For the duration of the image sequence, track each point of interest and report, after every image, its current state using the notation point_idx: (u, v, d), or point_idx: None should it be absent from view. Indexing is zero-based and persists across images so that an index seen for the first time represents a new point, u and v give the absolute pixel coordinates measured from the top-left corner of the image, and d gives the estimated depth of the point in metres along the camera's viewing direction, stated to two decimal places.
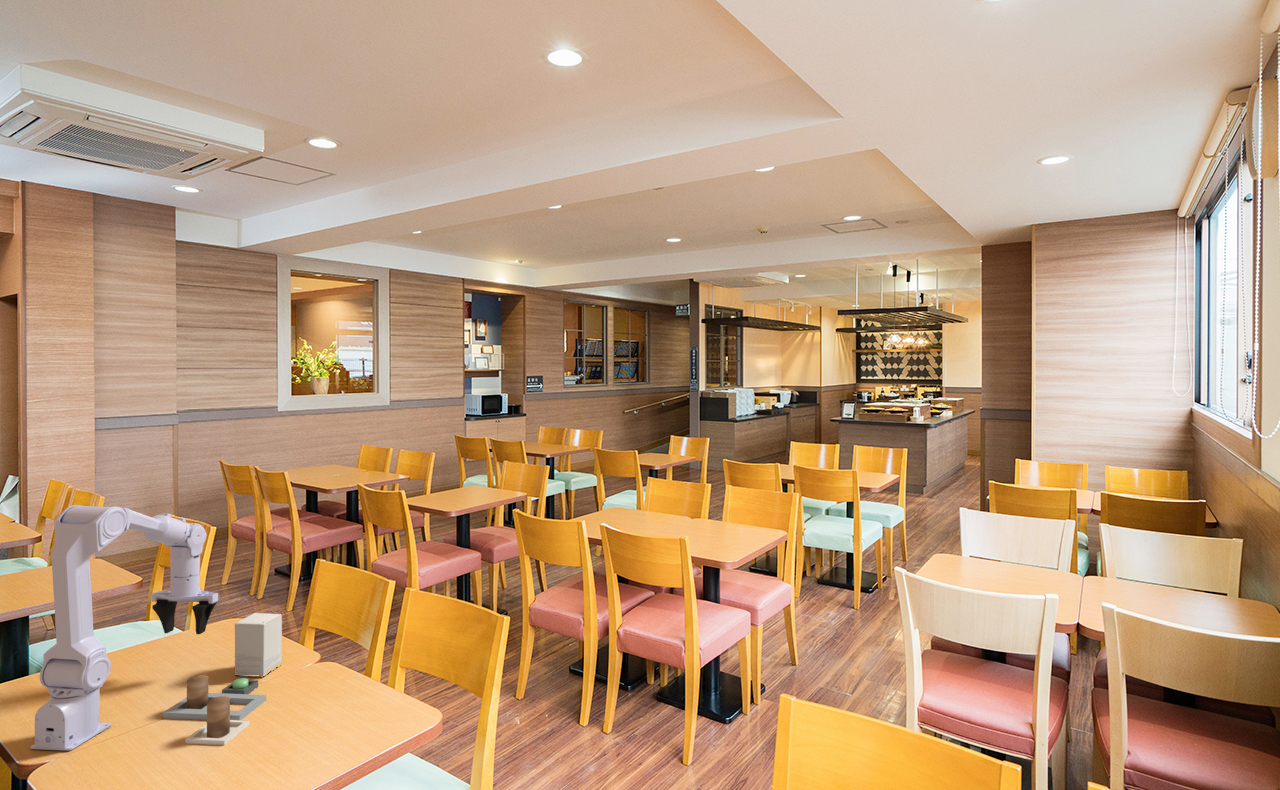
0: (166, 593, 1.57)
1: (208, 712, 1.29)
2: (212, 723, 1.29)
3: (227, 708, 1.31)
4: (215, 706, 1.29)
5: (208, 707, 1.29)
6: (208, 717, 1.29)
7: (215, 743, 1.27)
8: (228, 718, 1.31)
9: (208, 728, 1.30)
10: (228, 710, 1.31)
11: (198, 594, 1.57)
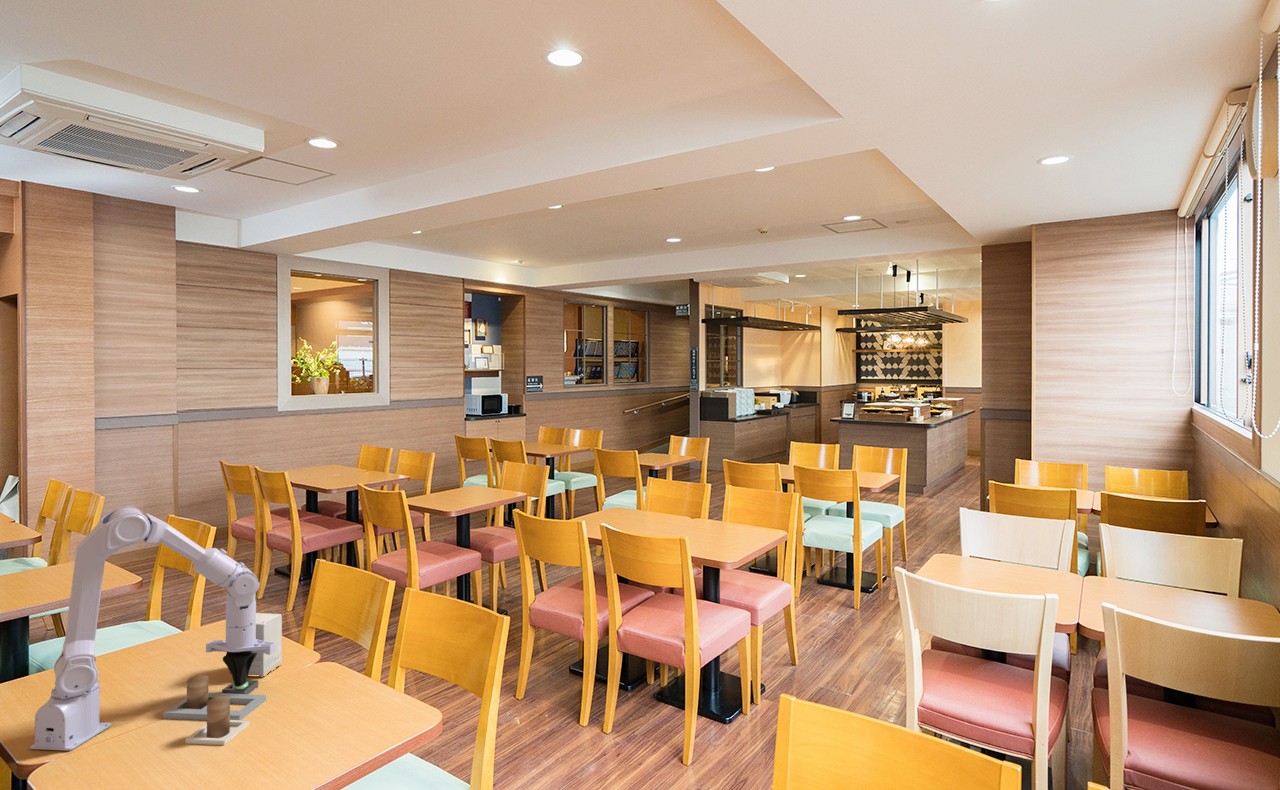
0: (221, 643, 1.49)
1: (208, 712, 1.29)
2: (212, 723, 1.29)
3: (227, 708, 1.31)
4: (215, 706, 1.29)
5: (208, 707, 1.29)
6: (208, 717, 1.29)
7: (215, 743, 1.27)
8: (228, 718, 1.31)
9: (208, 728, 1.30)
10: (228, 710, 1.31)
11: (254, 644, 1.49)
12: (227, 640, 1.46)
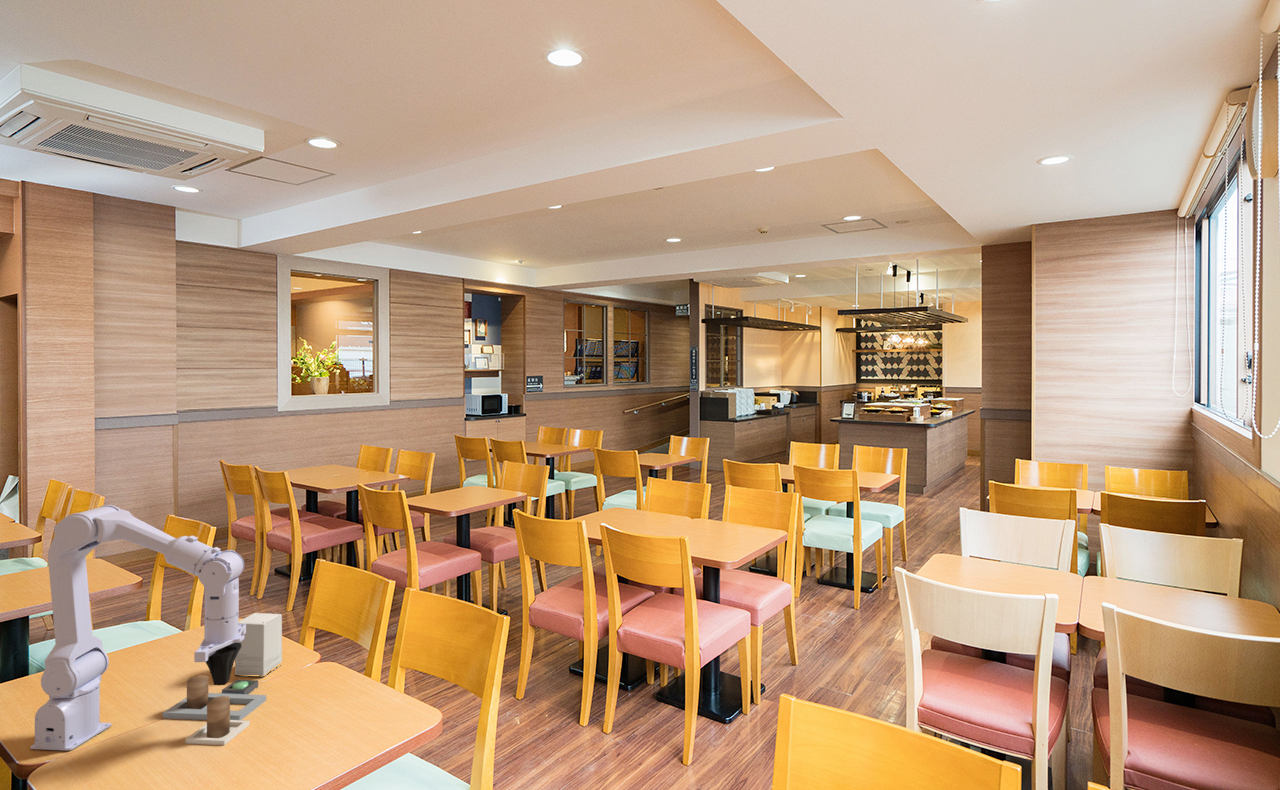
0: None
1: (208, 712, 1.29)
2: (212, 723, 1.29)
3: (227, 708, 1.31)
4: (215, 706, 1.29)
5: (208, 707, 1.29)
6: (208, 717, 1.29)
7: (215, 743, 1.27)
8: (228, 718, 1.31)
9: (208, 728, 1.30)
10: (228, 710, 1.31)
11: None
12: None
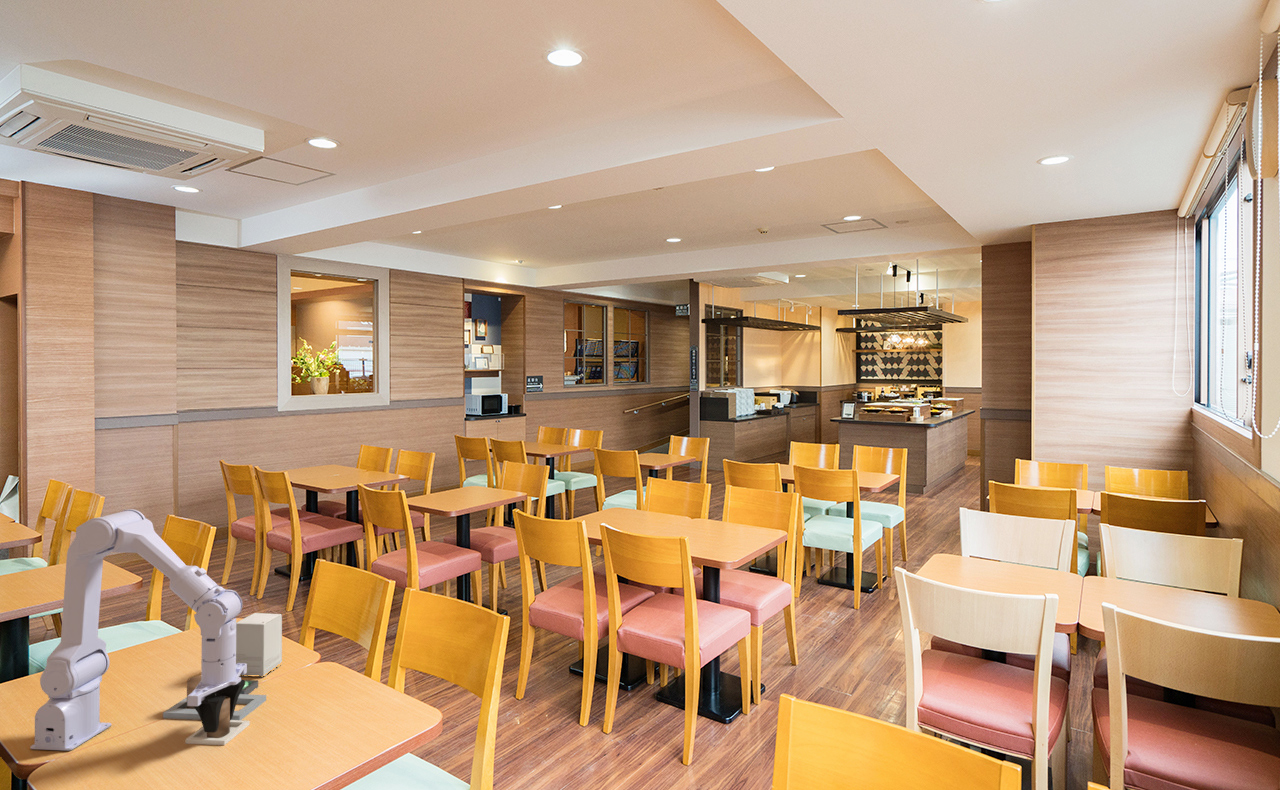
0: None
1: None
2: None
3: (227, 708, 1.31)
4: None
5: None
6: None
7: (215, 743, 1.27)
8: (228, 718, 1.31)
9: None
10: (228, 710, 1.31)
11: None
12: None
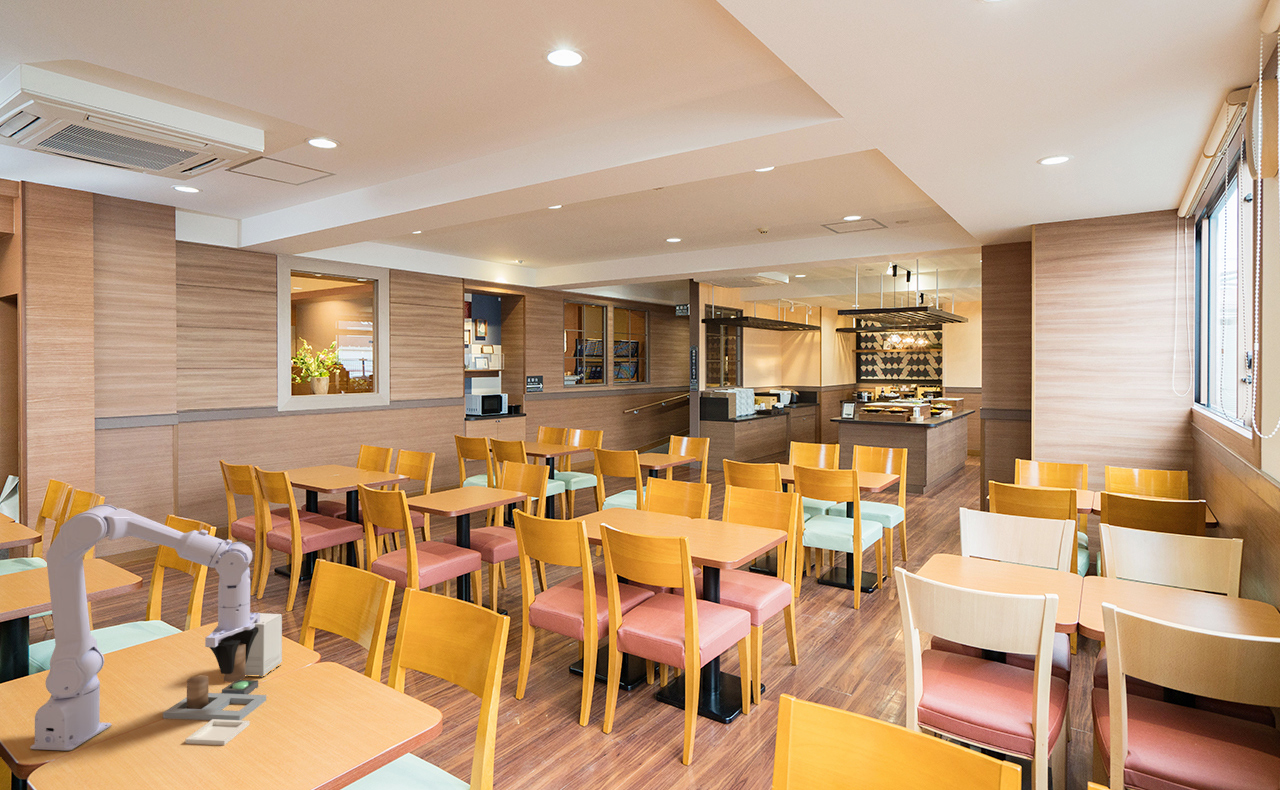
0: None
1: None
2: None
3: (243, 654, 1.39)
4: None
5: None
6: None
7: (215, 743, 1.27)
8: (243, 663, 1.40)
9: None
10: (244, 656, 1.40)
11: (222, 631, 1.36)
12: None
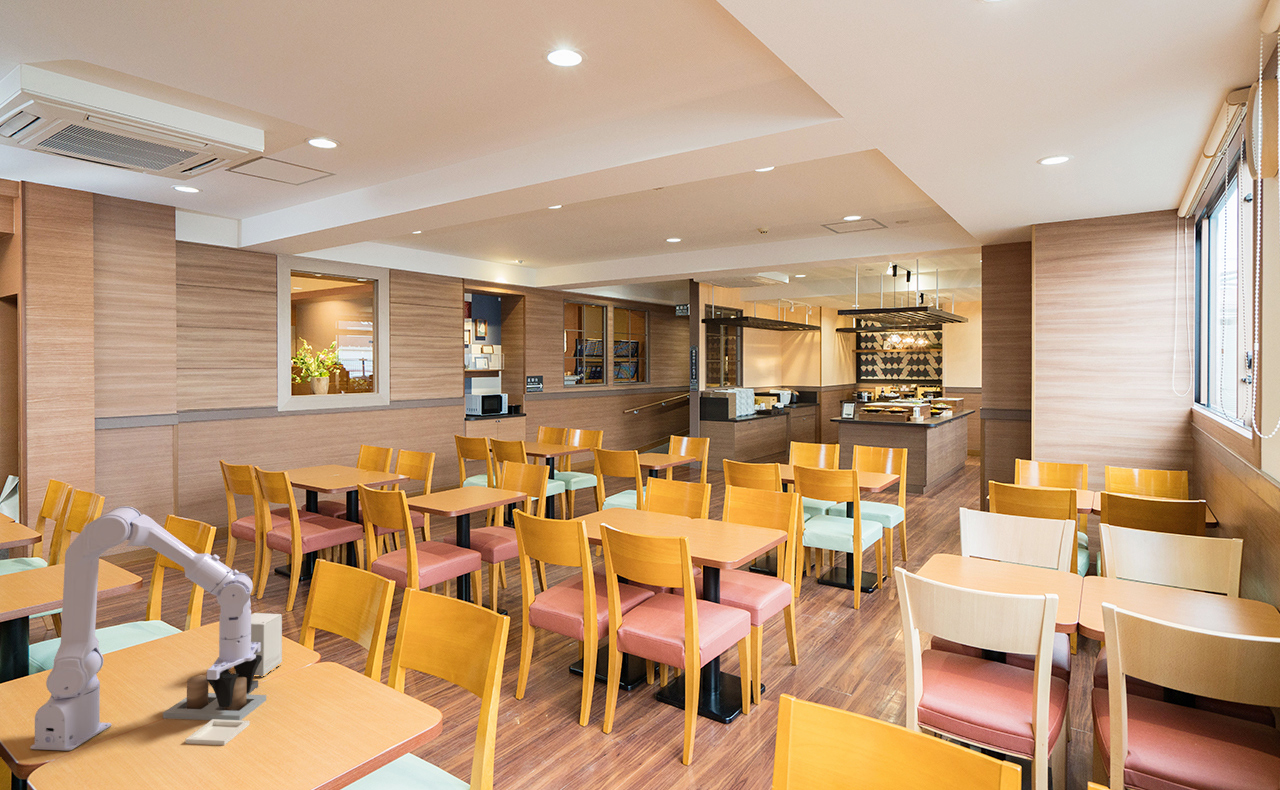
0: None
1: None
2: None
3: (244, 688, 1.40)
4: None
5: None
6: None
7: (215, 743, 1.27)
8: (244, 697, 1.41)
9: None
10: (245, 690, 1.41)
11: None
12: None
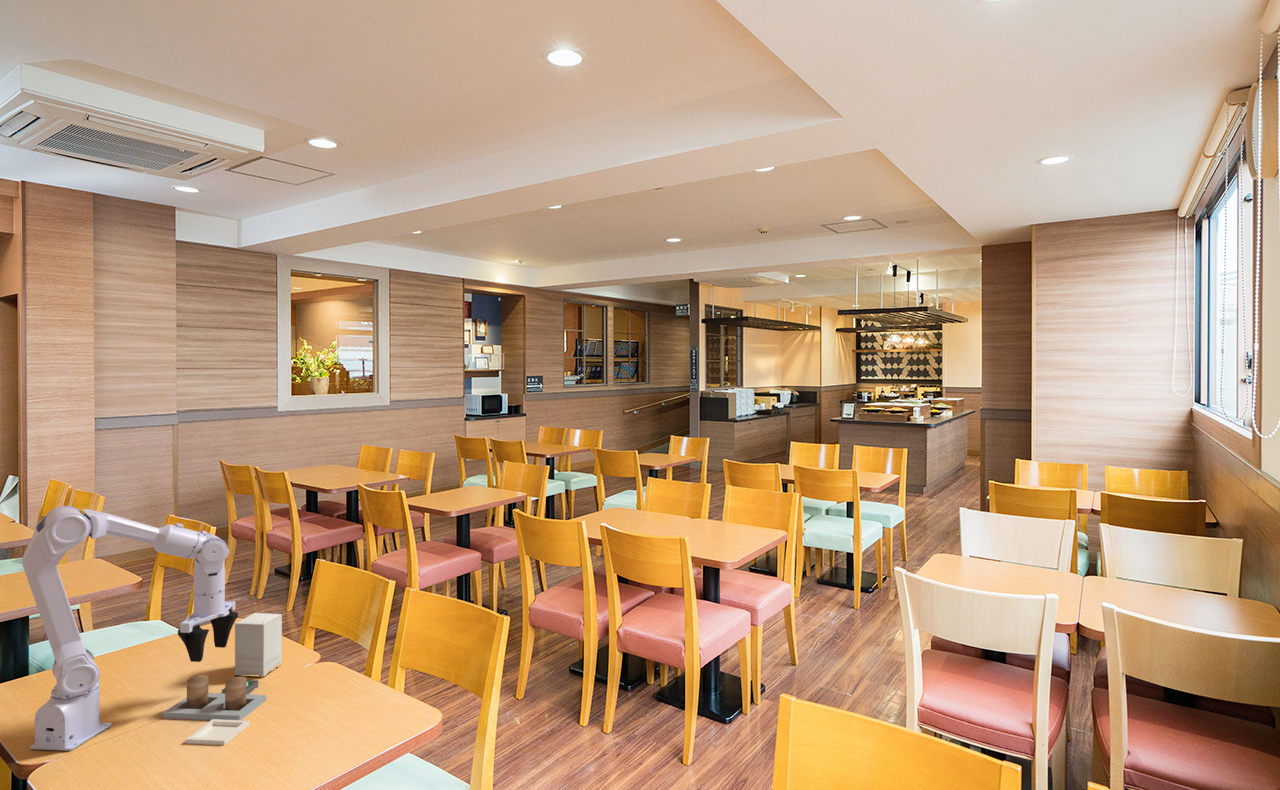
0: None
1: (226, 691, 1.39)
2: (230, 701, 1.39)
3: (243, 688, 1.40)
4: (232, 685, 1.39)
5: (226, 686, 1.39)
6: (226, 696, 1.39)
7: (215, 743, 1.27)
8: (244, 697, 1.41)
9: (226, 706, 1.39)
10: (244, 690, 1.41)
11: None
12: None
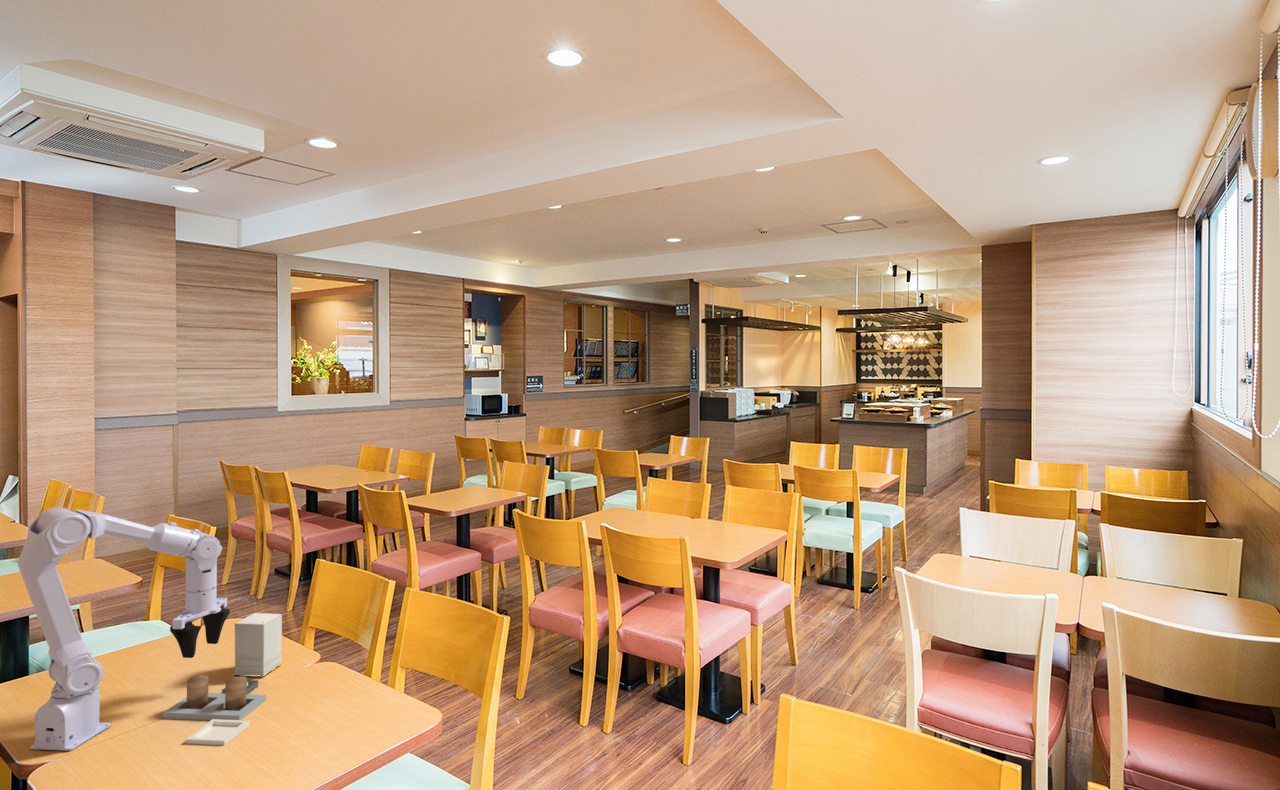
0: None
1: (226, 691, 1.39)
2: (230, 701, 1.39)
3: (244, 688, 1.41)
4: (232, 685, 1.39)
5: (226, 686, 1.39)
6: (226, 695, 1.39)
7: (215, 743, 1.27)
8: (244, 697, 1.41)
9: (226, 706, 1.39)
10: (245, 690, 1.41)
11: (189, 614, 1.44)
12: None
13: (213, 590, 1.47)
